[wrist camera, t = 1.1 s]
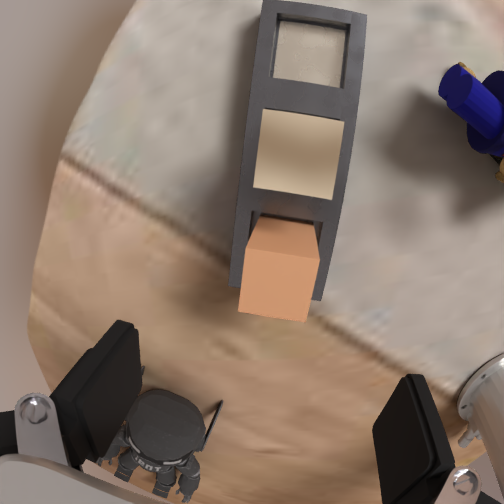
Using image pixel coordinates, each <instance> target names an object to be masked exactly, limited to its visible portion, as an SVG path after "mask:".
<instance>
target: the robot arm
mask: <svg viewBox="0 0 504 504" xmlns="http://www.w3.org/2000/svg"><path fill="white" fill-rule="evenodd" d="M141 388H142V373H141V362H140V349H139V334H138V330H137V329H135V328H134V325H133V324H132V323H129V322H125V321H122V320H117V321H116V322H115V323H114V324H113V325H112V326H111V327H110V329H109V330H108V331H107V332H106V333H105V334H104V336H103V337H102V338H101V339H100V340H99V341H98V343H97V344H96V345H95V346H94V347H93V348H90V349H88V350H87V351H86V352H85V353H84V355H83V356H82V357H81V358H80V359H79V361H78V362H77V363H76V364H75V365H74V367H73V368H72V369H71V370H70V371H69V373H68V374H67V375H66V376H65V378H64V379H63V380H62V381H61V383H60V384H59V385H58V386H57V387H56V389H55V390H54V391H53V393H52V394H51V395H50V396H49V397H48V396H46V395H44V394H41V393H31V394H27V395H25V396H23V397H22V398H21V399H20V400H19V401H18V402H17V404H16V406H15V410H13V411H6V412H0V504H168V503H165V502H161V501H158V500H155V499H152V498H149V497H146V496H143V495H140V494H137V493H134V492H131V491H129V490H126V489H123V488H120V487H118V486H115V485H112V484H110V483H107V482H105V481H103V480H100V479H98V478H95V477H93V476H90V475H88V474H86V473H84V472H83V469H82V466H81V464H83V463H84V461H85V460H86V459H88V460H90V461H92V462H94V463H96V462H97V460H98V458H99V457H100V458H103V457H104V456H105V454H106V453H107V451H108V449H109V447H110V445H111V443H112V441H113V440H114V438H115V436H116V434H117V432H118V430H119V429H120V427H121V425H122V423H123V421H124V419H125V418H126V416H127V414H128V412H129V410H130V409H131V407H132V405H133V403H134V401H135V400H136V398H137V396H138V394H139V392H140V390H141ZM457 410H458V412H459V415H460V417H461V418H462V419H464V420H466V421H469V425H468V427H467V429H468V430H467V431H466V432H465V433H464V434H463V435H462V436H461V438H460V439H459V440H458V444H459V446H460V447H462V448H465V447H467V446H468V445H469V443H470V442H471V441H472V440H473V438H474V437H476V438H477V439H478V440H480V439H482V441H483V443H484V446H485V448H486V451H487V453H488V456H489V458H490V461H491V464H492V467H493V469H494V472H495V475H496V478H497V481H498V484H499V487H500V490H501V493H502V496H503V499H504V354H502V355H500V356H498V357H496V358H494V359H492V360H491V361H489V362H488V363H487V364H485V365H484V366H483V367H482V368H480V369H479V370H478V371H477V372H476V373H475V374H474V375H473V376H472V377H471V379H470V380H469V381H468V382H467V384H466V385H465V386H464V388H463V390H462V391H461V393H460V395H459V398H458V401H457ZM372 433H373V439H374V446H375V452H376V459H377V465H378V473H379V480H380V488H381V496H382V503H383V504H501V503H500V502H498V501H496V500H495V499H493V498H492V497H490V496H488V495H486V494H485V493H484V492H482V491H481V487H482V482H481V478H480V476H479V474H478V473H477V472H476V471H475V470H474V469H473V468H471V467H468V466H459V467H455V464H454V463H455V460H454V457H453V454H452V451H451V448H450V445H449V442H448V439H447V436H446V433H445V430H444V427H443V424H442V422H441V419H440V416H439V413H438V411H437V408H436V405H435V403H434V400H433V398H432V395H431V393H430V390H429V388H428V385H427V383H426V380H425V378H424V376H423V375H421V374H407V375H406V376H405V377H402V378H401V380H400V381H399V383H398V385H397V387H396V388H395V390H394V392H393V393H392V395H391V397H390V399H389V400H388V402H387V404H386V405H385V407H384V408H383V410H382V412H381V413H380V415H379V416H378V418H377V420H376V421H375V423H374V425H373V429H372Z"/></svg>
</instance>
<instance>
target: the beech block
mask: <svg viewBox="0 0 504 504" xmlns="http://www.w3.org/2000/svg"><path fill="white" fill-rule="evenodd" d="M343 128H344V122H343V121H338V120H332V119H327V118H321V117H316V116H310V115H303V114H297V113H290V112H283V111H275V110H267V109H263V113H262V121H261V129H260V137H259V144H258V152H257V160H256V168H255V176H254V184H253V187H255V188H262V189H268V190H275V191H282V192H288V193H294V194H300V195H306V196H312V197H318V198H324V199H330V200H332V196H333V191H334V185H335V179H336V173H337V167H338V161H339V155H340V148H341V142H342V135H343Z"/></svg>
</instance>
